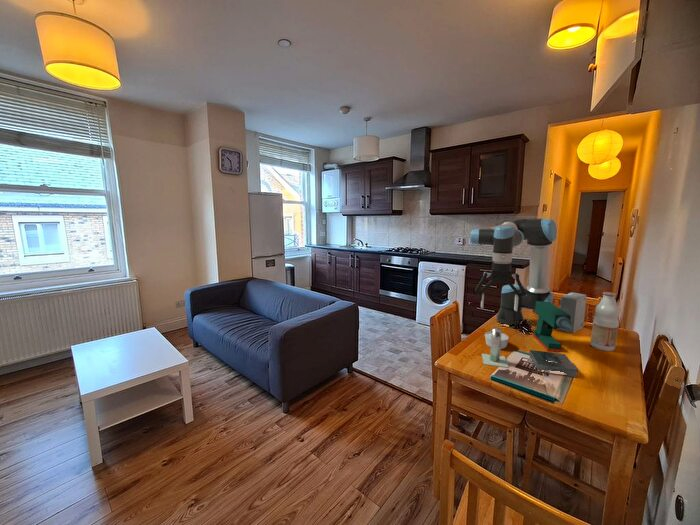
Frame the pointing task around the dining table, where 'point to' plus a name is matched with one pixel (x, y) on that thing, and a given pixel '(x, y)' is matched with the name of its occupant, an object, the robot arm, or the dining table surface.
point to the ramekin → (503, 339)
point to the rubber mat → (488, 362)
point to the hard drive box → (574, 310)
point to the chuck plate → (562, 359)
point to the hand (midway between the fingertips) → (498, 308)
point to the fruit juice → (605, 323)
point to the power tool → (550, 324)
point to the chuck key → (495, 344)
